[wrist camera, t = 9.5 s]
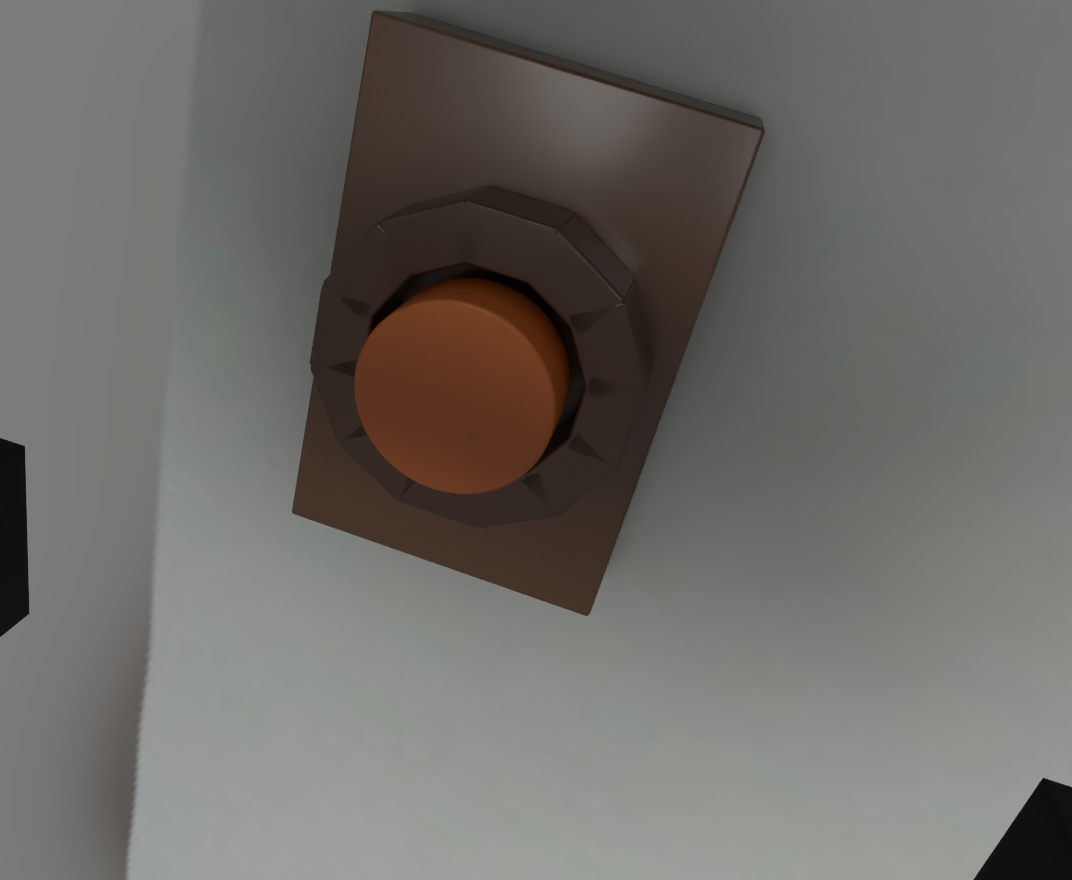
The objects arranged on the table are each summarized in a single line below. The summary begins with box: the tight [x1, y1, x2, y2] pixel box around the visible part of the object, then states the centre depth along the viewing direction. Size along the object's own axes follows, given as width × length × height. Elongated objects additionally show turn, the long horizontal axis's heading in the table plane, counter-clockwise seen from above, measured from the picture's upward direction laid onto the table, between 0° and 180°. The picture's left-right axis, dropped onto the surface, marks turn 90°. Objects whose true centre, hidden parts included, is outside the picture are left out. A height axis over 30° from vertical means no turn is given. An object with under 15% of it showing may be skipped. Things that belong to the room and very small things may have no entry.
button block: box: [292, 10, 764, 616], centre depth 20 cm, size 12×8×4 cm, turn 165°
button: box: [354, 277, 570, 494], centre depth 18 cm, size 4×4×2 cm
